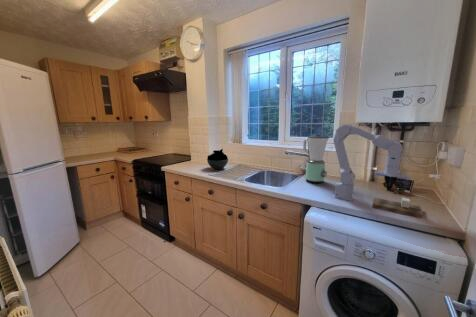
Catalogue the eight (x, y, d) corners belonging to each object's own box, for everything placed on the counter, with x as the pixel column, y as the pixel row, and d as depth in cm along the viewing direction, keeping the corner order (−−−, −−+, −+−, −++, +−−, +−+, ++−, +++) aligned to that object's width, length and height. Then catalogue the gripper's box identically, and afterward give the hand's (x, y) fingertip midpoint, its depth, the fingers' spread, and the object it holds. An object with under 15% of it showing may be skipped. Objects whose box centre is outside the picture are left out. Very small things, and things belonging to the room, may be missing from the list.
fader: (401, 207, 101) (402, 200, 101) (401, 203, 105) (402, 197, 105) (408, 208, 100) (410, 202, 99) (408, 205, 104) (409, 198, 103)
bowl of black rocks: (212, 172, 178) (211, 152, 174) (204, 168, 195) (203, 149, 191) (231, 169, 187) (231, 150, 183) (223, 165, 204) (222, 147, 201)
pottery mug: (401, 190, 132) (408, 182, 127) (400, 200, 127) (407, 192, 121) (381, 183, 138) (386, 175, 132) (379, 192, 132) (384, 184, 127)
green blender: (329, 181, 150) (333, 135, 143) (321, 186, 141) (325, 136, 134) (305, 176, 163) (308, 134, 157) (297, 180, 154) (299, 135, 147)
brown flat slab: (372, 207, 107) (372, 203, 106) (373, 200, 115) (374, 197, 115) (422, 218, 95) (422, 214, 94) (419, 210, 103) (420, 206, 103)
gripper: (375, 165, 104) (371, 189, 107) (411, 169, 95) (406, 195, 98) (376, 162, 110) (372, 186, 112) (410, 166, 101) (406, 191, 104)
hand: (388, 190), depth 106 cm, fingers closed
